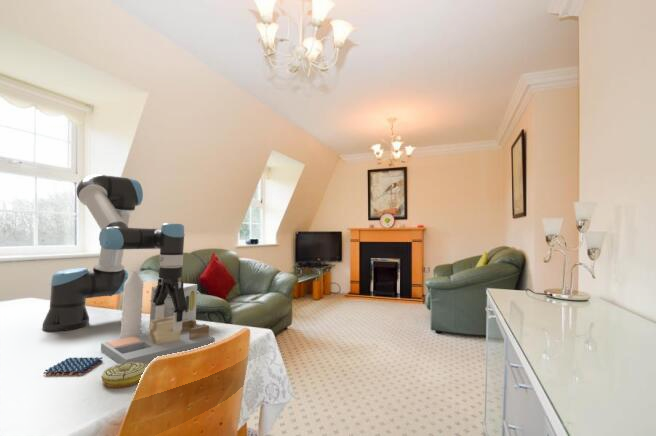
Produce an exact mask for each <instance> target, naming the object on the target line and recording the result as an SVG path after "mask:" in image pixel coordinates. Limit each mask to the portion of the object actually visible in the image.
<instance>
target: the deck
mask: <svg viewBox="0 0 656 436" xmlns="http://www.w3.org/2000/svg"><path fill="white" fill-rule="evenodd" d="M189 333H190V330H188V331H183V332H181V337H180V340H176V341H171V342H167V343H163V344H159V345H156V344H154V343H152V342H150V341H149V336H150V332H149V333H144V334H140V335H138V336H133V337H128V338H124V339H121V338H120V339H115V340H109V341H105V342H101V344H100V345H101V346H100V351H101V352H102V353H104V354H105V355H106V356H108V357H109V358H110V359H112V360H113V361H115V362H116V363H118V365H119V364H123V363H128V362H139V363H145V364H148V363H151V362H150V361H152V360H153V359H154V358H156V357H157V356H162V355H167V354H172V353H177V352H182V351H187V350H191V349H194V348H198V347H201V346H204V345H208V344H210V343H213V342H214V343H215V339H216V338H215V336H211V335H210V334H209V335H208V336H204V337H200V338H195V339H191V340H190V339H189ZM152 362H153V361H152Z"/></svg>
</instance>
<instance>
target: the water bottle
mask: <svg viewBox="0 0 656 436" xmlns="http://www.w3.org/2000/svg"><path fill="white" fill-rule="evenodd" d="M151 271H152V270H143V274H147V275H148V274H151V273H152V272H151ZM122 293H123V294H122V306H121V308H122V311H121V327H120V339H124V338H128V337H133V336H138V335H141V334H142V333H141V332H142V331H141V328H142V324H141V323H142V317H143V316H142V313H143V296H144V295H143V293H144V282H143V280H142V279H141V277H140V275H139V271H138V270H133V271H131V272H130V275H129V276H128V279H127V280H126V282H125V283H124V291H123V292H122Z"/></svg>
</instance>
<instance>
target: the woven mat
mask: <svg viewBox="0 0 656 436" xmlns="http://www.w3.org/2000/svg"><path fill="white" fill-rule="evenodd" d="M103 361H104V360H103V356H102V357H98V356H96V357H93V356H92V357H91V356H90V357H83V356H81V357H68V358H65V360H61V362H58V363H57V364H55V365H52V367H51V366H50V367H49V368H48V369H45V370H44V372H43V374H44V375H43V377H46V376H48V377H50V376H52V377H55V376H57V377H59V376H61V375H63V376H66V375H67V376H71V377H72V376H73V377H75V376H77V375H78V376H82V375H84V374H86V373H87V372H88V371H90V370H92V369H93V368H94V367H96V366H97V365H99V364H101V363H103ZM47 374H48V375H47ZM60 374H61V375H60ZM64 374H65V375H64ZM45 375H46V376H45ZM54 375H55V376H54ZM58 375H59V376H58Z"/></svg>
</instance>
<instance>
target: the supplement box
mask: <svg viewBox="0 0 656 436" xmlns="http://www.w3.org/2000/svg"><path fill="white" fill-rule="evenodd" d="M156 289H157V285H155V286H152V287H151V295H150V297H151V298H150V310H149V311H150V314H149V321H150V320H155V314H156V305H155V303H153V299H154V295H155V292H156ZM183 290H184V295H185V300H186V306H187V310H184V311H183V317H182V322H183V321H189V320H194V321H196V322H197V319H196V318H197V298H198V284H197V283H196V284H195V283H185V282H183ZM164 303H165V304H163V305H164V318H167V317H172V316H174V310H175V308H174V305H173V302H172V298H171V296H170V295H169V294H168V295H167V297H166V299H165V301H164ZM148 329H149V330H150V323H149V326H148Z"/></svg>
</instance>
